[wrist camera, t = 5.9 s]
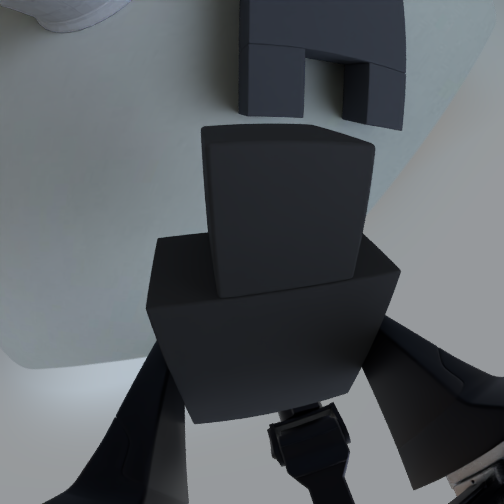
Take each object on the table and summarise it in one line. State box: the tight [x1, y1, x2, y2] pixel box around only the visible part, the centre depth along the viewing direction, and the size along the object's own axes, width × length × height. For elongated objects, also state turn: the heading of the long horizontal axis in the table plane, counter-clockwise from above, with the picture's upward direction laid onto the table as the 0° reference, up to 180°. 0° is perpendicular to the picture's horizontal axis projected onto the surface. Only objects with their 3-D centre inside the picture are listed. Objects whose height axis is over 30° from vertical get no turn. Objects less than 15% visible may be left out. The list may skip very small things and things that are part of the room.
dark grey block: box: [239, 0, 406, 131], centre depth 11 cm, size 12×10×3 cm
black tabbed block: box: [146, 124, 401, 424], centre depth 8 cm, size 6×9×3 cm, turn 0°
